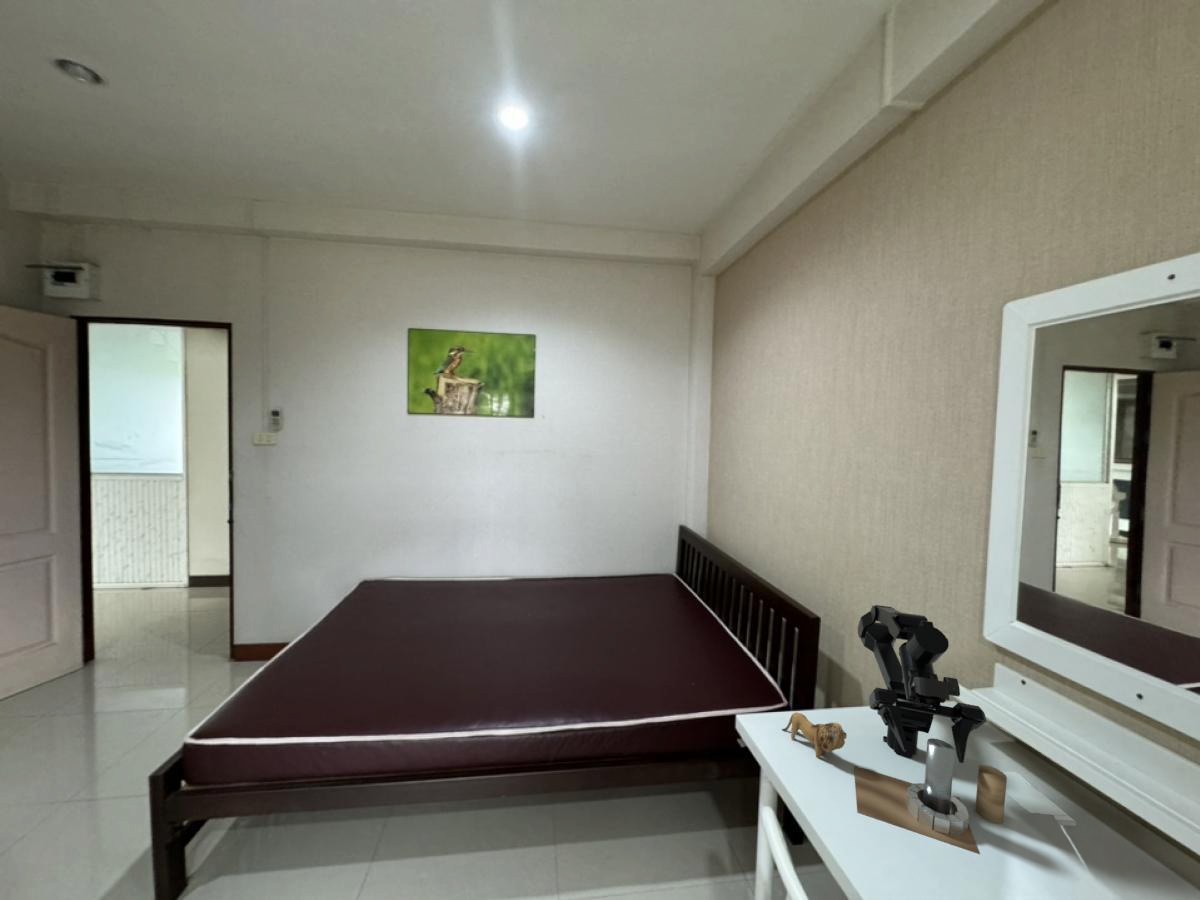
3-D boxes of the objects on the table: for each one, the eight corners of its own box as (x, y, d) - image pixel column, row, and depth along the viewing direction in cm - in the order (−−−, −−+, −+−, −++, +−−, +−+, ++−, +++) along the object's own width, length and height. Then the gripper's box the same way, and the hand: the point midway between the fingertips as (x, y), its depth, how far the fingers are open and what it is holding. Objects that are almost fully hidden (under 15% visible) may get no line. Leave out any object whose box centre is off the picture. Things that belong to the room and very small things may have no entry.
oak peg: (972, 808, 91) (976, 762, 91) (998, 816, 89) (1002, 769, 89) (978, 823, 87) (982, 775, 87) (1005, 832, 86) (1010, 783, 85)
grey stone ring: (903, 789, 94) (904, 777, 94) (959, 807, 90) (960, 794, 90) (910, 822, 86) (911, 809, 85) (972, 843, 82) (974, 829, 82)
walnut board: (853, 770, 100) (853, 765, 100) (958, 802, 92) (959, 797, 92) (857, 817, 87) (857, 812, 87) (979, 859, 80) (980, 854, 80)
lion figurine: (848, 766, 101) (851, 724, 101) (835, 776, 98) (839, 733, 98) (785, 729, 113) (788, 692, 113) (772, 737, 110) (774, 698, 109)
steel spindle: (917, 805, 90) (922, 737, 89) (939, 806, 90) (944, 738, 89) (932, 822, 86) (936, 752, 85) (954, 823, 86) (959, 753, 85)
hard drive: (978, 770, 100) (1031, 818, 88) (1017, 771, 100) (1076, 820, 88) (977, 778, 100) (1031, 826, 88) (1016, 779, 100) (1075, 828, 88)
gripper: (876, 648, 97) (887, 734, 87) (986, 666, 92) (1011, 759, 82) (865, 668, 105) (873, 748, 95) (965, 685, 100) (985, 772, 90)
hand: (932, 756), depth 90 cm, fingers open, 9 cm apart
